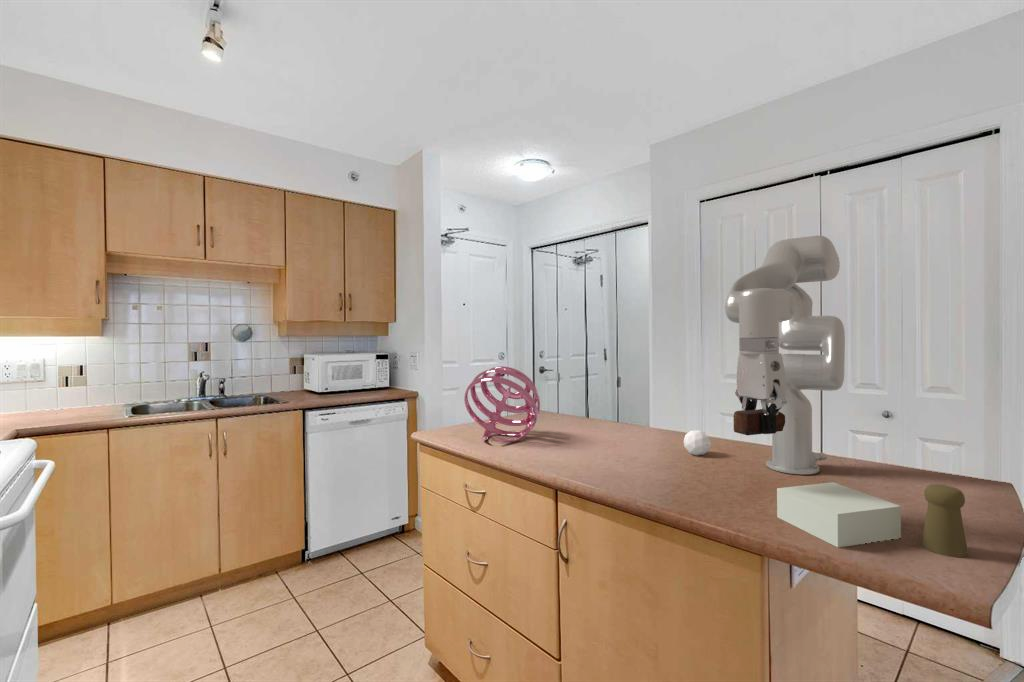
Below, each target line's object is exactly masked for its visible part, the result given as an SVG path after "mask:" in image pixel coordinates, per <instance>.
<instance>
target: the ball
mask: <svg viewBox="0 0 1024 682" xmlns="http://www.w3.org/2000/svg"><path fill="white" fill-rule="evenodd" d="M711 444H712V442H711V440H710V436H708V435H707V433H706V432H704V431H702V430H699V429H694V430H690V431H688V432H687V433H686V434H685V436H684V439H683V446H684V448H685V450H686V451H687V452H688V453H689V454H691V455H694V456H701V455H705V454H706V453H708V452H709V450H710V448H711Z"/></svg>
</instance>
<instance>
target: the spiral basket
mask: <svg viewBox="0 0 1024 682" xmlns="http://www.w3.org/2000/svg"><path fill="white" fill-rule="evenodd" d="M493 373H494V375H493V376H492V375H490V374H493ZM503 374H505V375H508V376H511V377H513V378H516V379H518V380H519V381H520V382H522V383H523V384H525V385H524V386H525V387H523V386H521V385H519V384H518V383H517V382H515V381H512V380H510V379H508V378H505V377H502V375H503ZM489 382H490V383H493V385H494V387H495V389H496V391H498V392H499V393H500V395H502V398H501V400H498V399H497V398H496V397H495V396H494V395H493V394H492V392H491V391H490V390H489V387H488V383H489ZM477 384H480V389H481V392H482V393H483V396H484V397H485V399H486V400H488V402H490V403H491V404H492V405H493V406H494V407H495V410H494V411H493V412H492V411H491V410H489V409H488V408H487V407H486V406H485V405H484V404H483V403H482V401H481V400H480V399H479V397H478V395H477V391H476V385H477ZM503 385H505V386H507V387H508V388H507V389H506V387H504V386H503ZM511 389H513V390H514V391H516V392H513V391H511ZM469 391H470V397H471V399H472V401H473V403H474V404H475V406H476V409H478V410H479V411H480V412H481V413H482V414H483V415H485V416H486V417H487V418H488V419H489V421H488V422H486V421H484V420H483V419H481V418H480V417H479V416H478V415H477V413H475V411H474V410H473V409H472V407H471V404H470V402H469V398H468V397H469V395H468V394H469ZM464 392H465V393H464V405H465V408H466V411H467V413H468V414H469V416H470V417H471V418H472V419H473V421H474V422H475V423H477V424H478V425H479V426H481V427H482V428H483V429H484V432H483V435H482V440H483V441H484V442H487V441H488V440H487V437H489V436H491V434H496V435H498V434H505V435H513V436H512V437H517V438H514V439H506V438H501V437H498V436H494V439H495V440H497V441H498V442H499V441H500V442H502V443H506V444H507V443H508V442H512V443H515V442H514V441H516V442H518V441H520V440H522V439H523V438H525V436H526V435H528V433H529V432H531V431H532V429H534V427H535V426H536V423H537V421H538V418H539V413H540V409H541V400H540V395H539V393H538V389H537V388H536V385H535V384H534V381H533V380H532V379H531V378H530V377H529V376H528V375H527V374H525V373H524V372H522V371H520V370H519V369H516V368H513V367H510V366H495V367H491V368H489V369H486V370H483V371H482V372H480V373H478V374H477V375H476V376H475V377H474V378H473V380H472V381H471V383H469V384H468V386H467V388H466V390H465V391H464ZM531 392H532V393H533V397H532V395H531V394H530V393H531ZM508 399H510V400H511V399H512V400H522V399H523V400H524V403H525V404H524V405H520V406H517V405H516V406H515V405H509V404H508V403H507V400H508ZM502 412H508V413H511V414H524V413H526V414H527V416H526V418H523V419H509V418H505V417H502V416H501V415H502V414H501V413H502ZM497 424H501V425H505V426H510V427H521V426H525V428H524V429H522V430H517V431H512V430H510V431H509V430H503V429H500V428H497V427H496V425H497ZM489 438H490V437H489ZM486 440H487V441H486Z"/></svg>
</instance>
